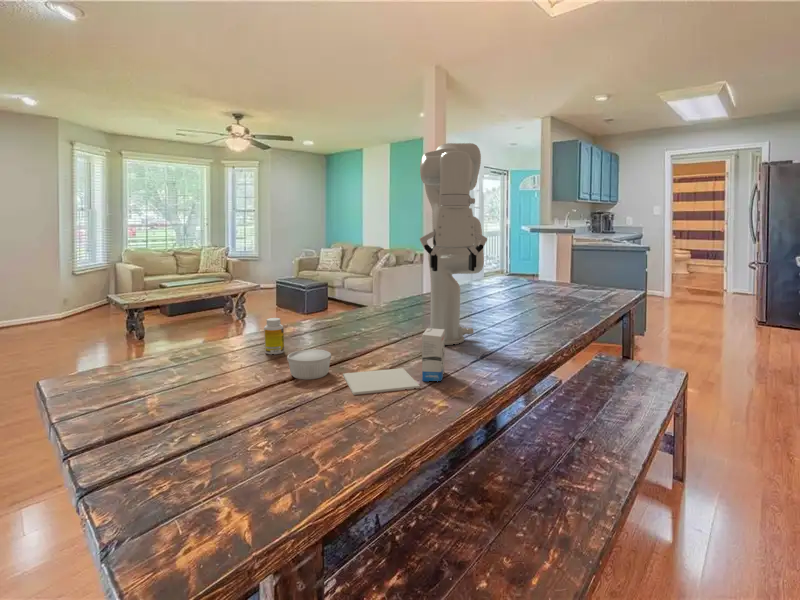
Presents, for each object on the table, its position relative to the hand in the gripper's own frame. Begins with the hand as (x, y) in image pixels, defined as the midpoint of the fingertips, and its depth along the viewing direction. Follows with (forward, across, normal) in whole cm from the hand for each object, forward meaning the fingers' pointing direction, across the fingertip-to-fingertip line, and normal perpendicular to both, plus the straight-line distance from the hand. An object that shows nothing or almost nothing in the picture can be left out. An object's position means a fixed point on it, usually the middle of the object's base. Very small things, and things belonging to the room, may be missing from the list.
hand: (453, 270), depth 124 cm
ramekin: (+27, +37, -3) cm, 46 cm away
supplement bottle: (+26, +48, -24) cm, 60 cm away
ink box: (+27, +6, +4) cm, 28 cm away
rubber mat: (+27, +20, +6) cm, 34 cm away
